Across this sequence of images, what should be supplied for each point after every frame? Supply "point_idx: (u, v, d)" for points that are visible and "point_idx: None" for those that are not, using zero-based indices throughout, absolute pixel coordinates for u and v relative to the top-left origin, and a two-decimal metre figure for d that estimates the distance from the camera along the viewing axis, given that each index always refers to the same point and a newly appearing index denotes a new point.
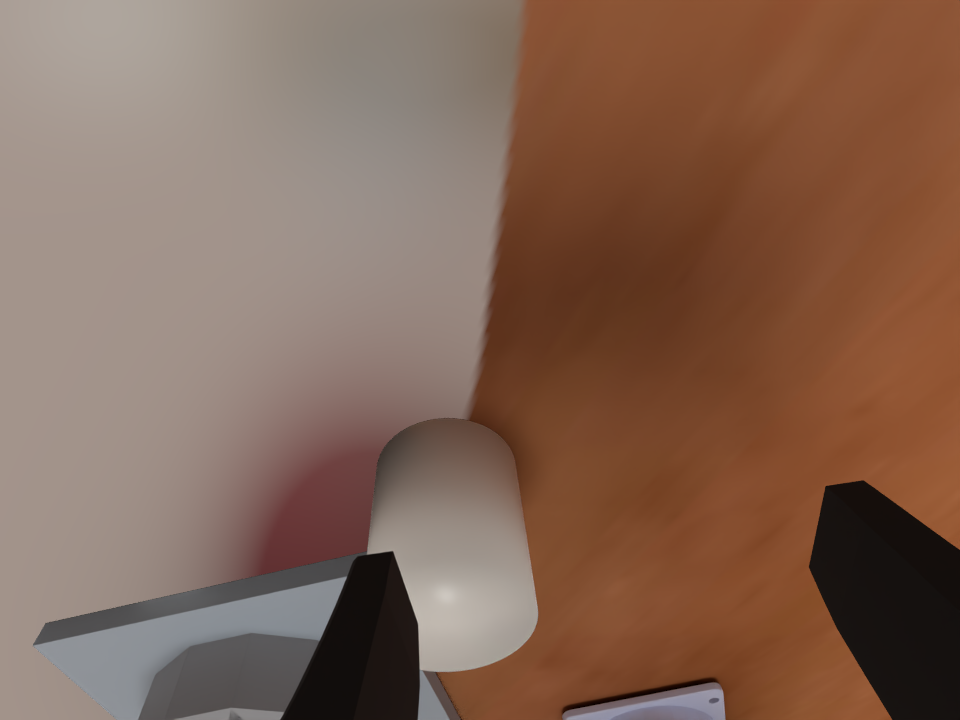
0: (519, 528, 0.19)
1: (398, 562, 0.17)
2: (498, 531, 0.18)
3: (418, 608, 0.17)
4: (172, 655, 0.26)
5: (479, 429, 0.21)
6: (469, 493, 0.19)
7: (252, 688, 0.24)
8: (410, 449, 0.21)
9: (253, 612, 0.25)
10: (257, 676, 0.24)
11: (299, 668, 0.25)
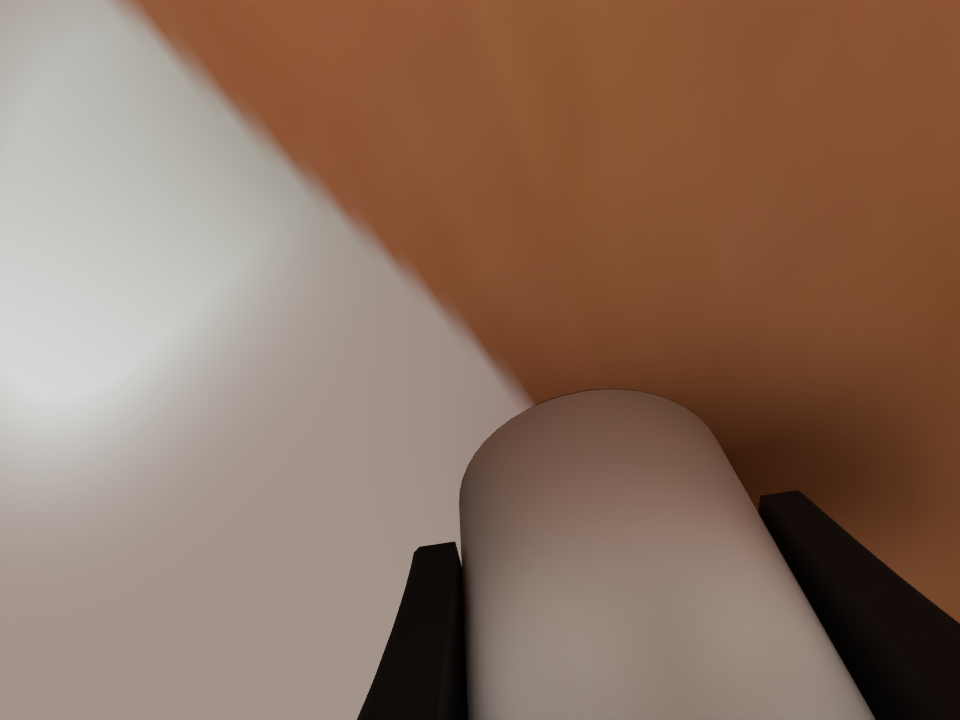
0: (726, 583, 0.07)
1: None
2: (654, 650, 0.07)
3: None
4: None
5: (559, 409, 0.10)
6: (561, 581, 0.08)
7: None
8: (466, 526, 0.10)
9: None
10: None
11: None
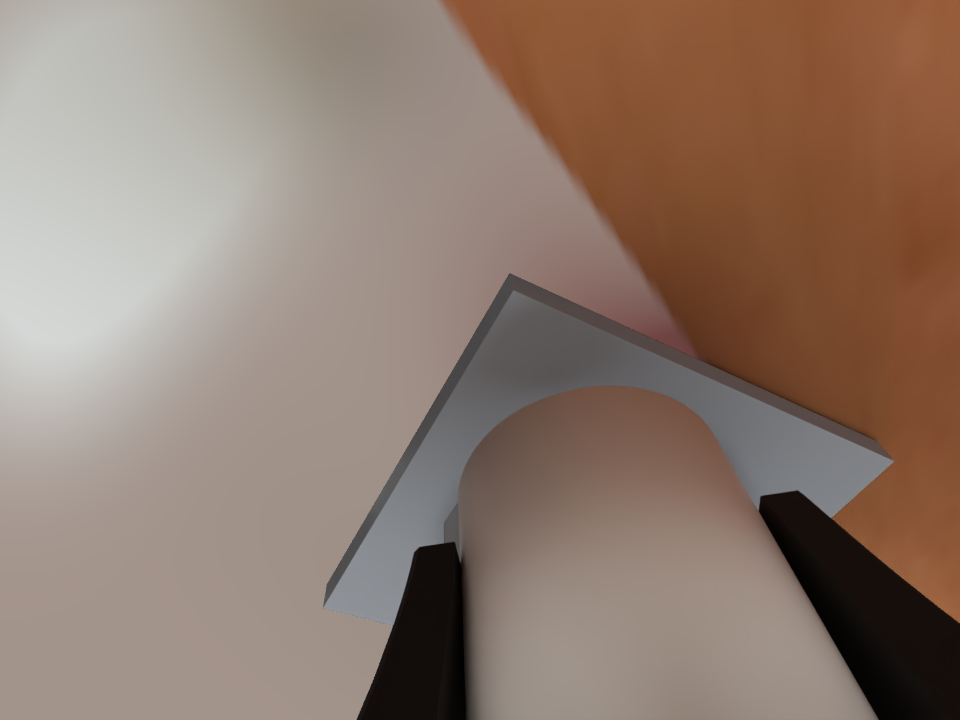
0: (724, 576, 0.07)
1: None
2: (652, 642, 0.07)
3: None
4: (440, 543, 0.21)
5: (557, 405, 0.10)
6: (559, 575, 0.08)
7: None
8: (465, 523, 0.10)
9: (456, 439, 0.19)
10: None
11: None
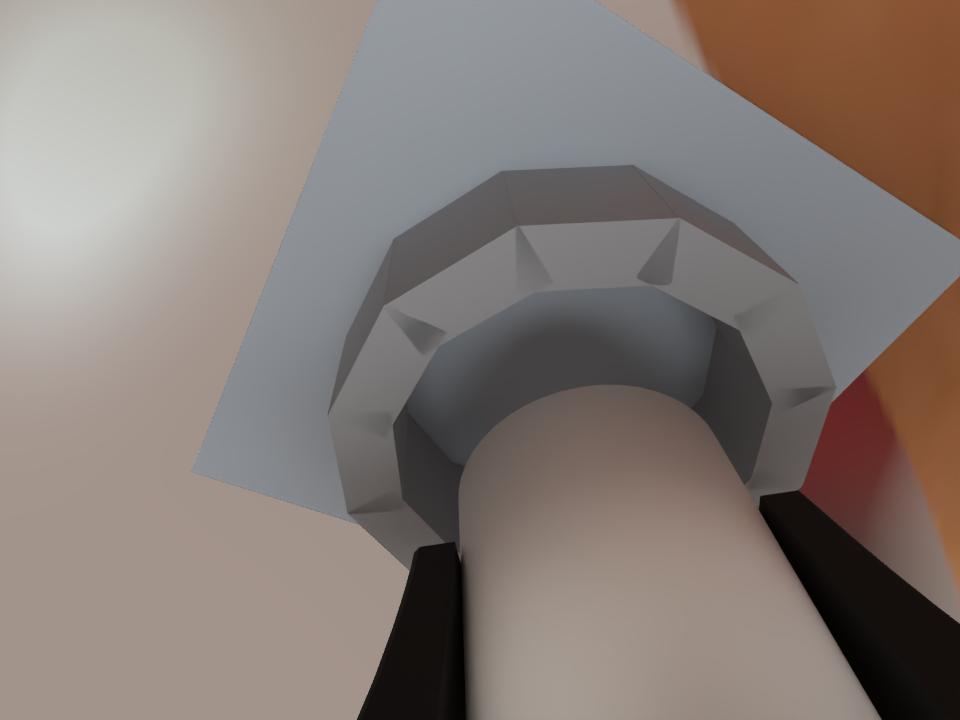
0: (722, 571, 0.07)
1: None
2: (650, 638, 0.07)
3: None
4: None
5: (556, 404, 0.10)
6: (557, 571, 0.08)
7: (413, 269, 0.11)
8: (465, 522, 0.10)
9: (353, 186, 0.13)
10: (416, 257, 0.12)
11: (483, 206, 0.12)
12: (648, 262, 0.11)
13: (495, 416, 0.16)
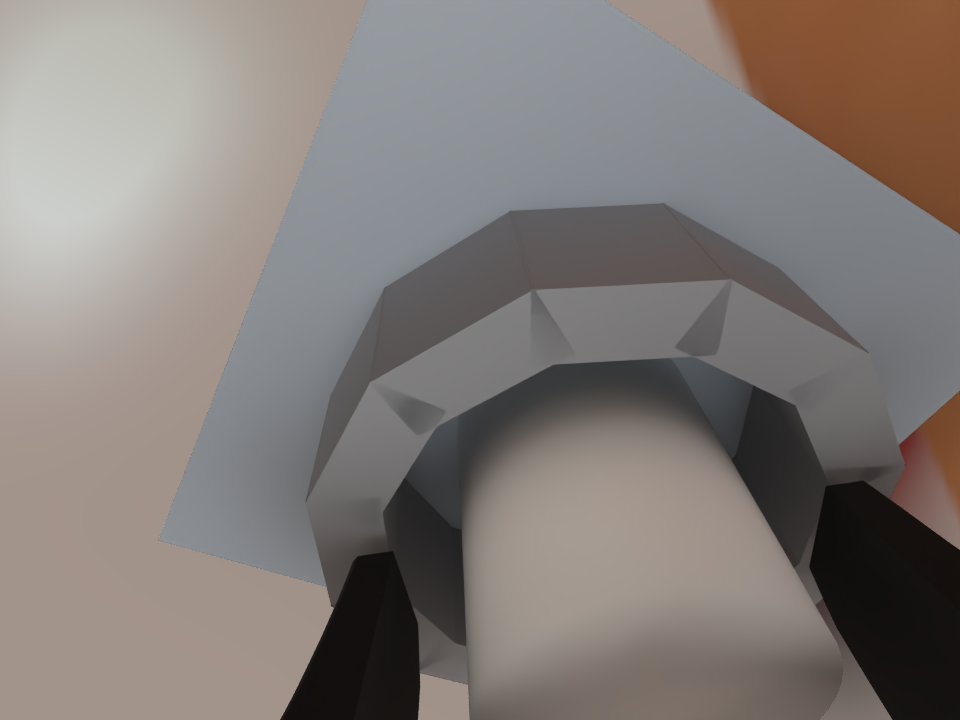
0: (674, 464, 0.09)
1: (472, 673, 0.08)
2: (612, 509, 0.08)
3: None
4: None
5: None
6: (540, 468, 0.09)
7: (406, 334, 0.09)
8: (463, 445, 0.12)
9: (336, 228, 0.11)
10: (410, 317, 0.10)
11: (490, 256, 0.10)
12: (690, 330, 0.09)
13: None
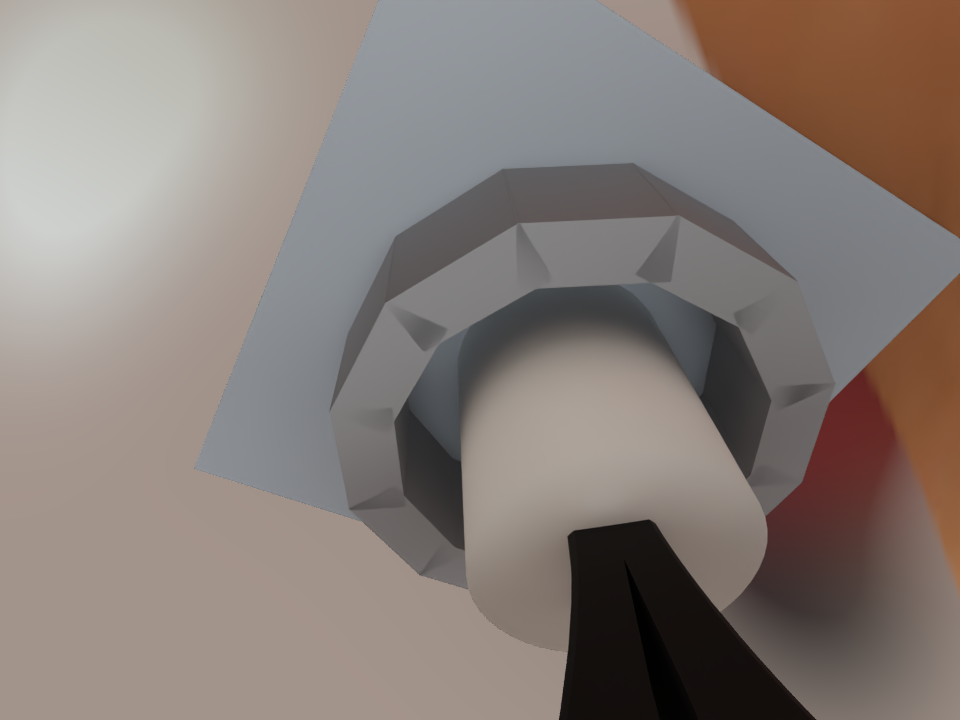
0: (635, 370, 0.11)
1: (467, 534, 0.10)
2: (581, 399, 0.10)
3: (552, 575, 0.11)
4: None
5: None
6: (525, 376, 0.11)
7: (415, 267, 0.11)
8: (462, 374, 0.14)
9: (355, 183, 0.13)
10: (418, 254, 0.12)
11: (484, 203, 0.12)
12: (648, 259, 0.11)
13: None
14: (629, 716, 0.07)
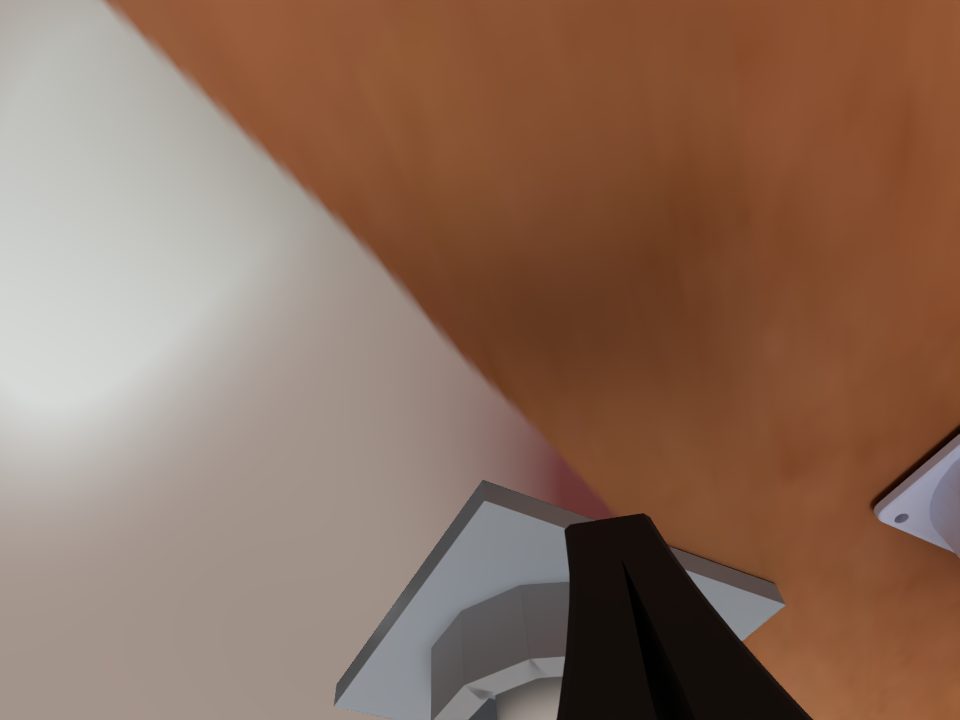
0: None
1: None
2: None
3: None
4: (428, 661, 0.27)
5: None
6: (533, 715, 0.23)
7: (477, 659, 0.23)
8: None
9: (441, 593, 0.24)
10: (477, 646, 0.23)
11: (511, 619, 0.23)
12: None
13: None
14: (626, 716, 0.07)
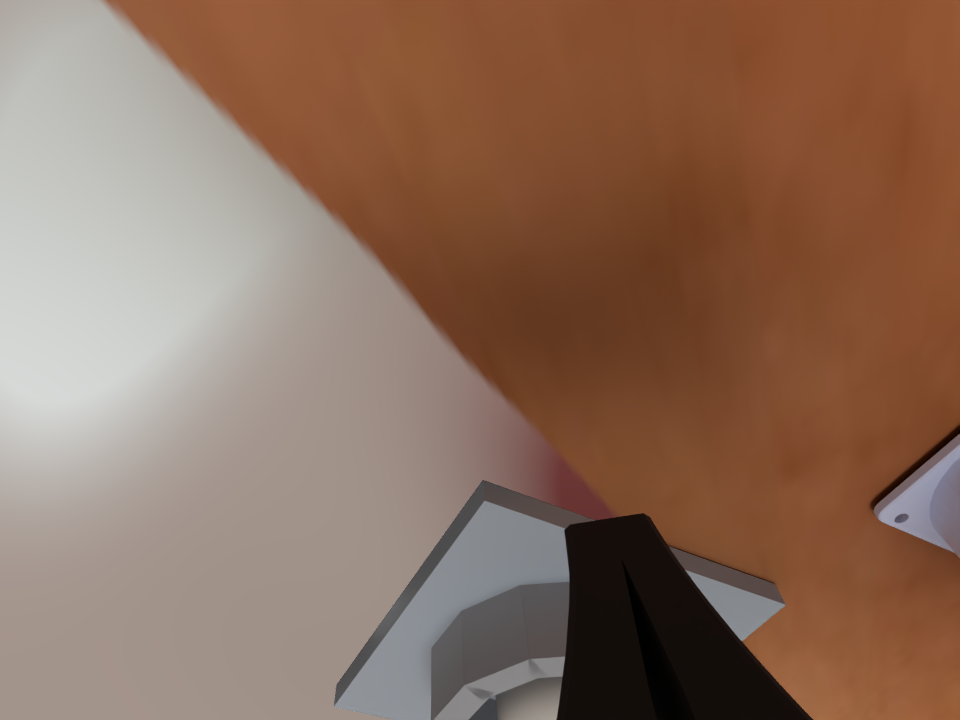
0: None
1: None
2: None
3: None
4: (428, 661, 0.27)
5: None
6: (534, 715, 0.23)
7: (477, 659, 0.23)
8: None
9: (441, 593, 0.24)
10: (477, 646, 0.23)
11: (511, 619, 0.23)
12: None
13: None
14: (626, 717, 0.07)
